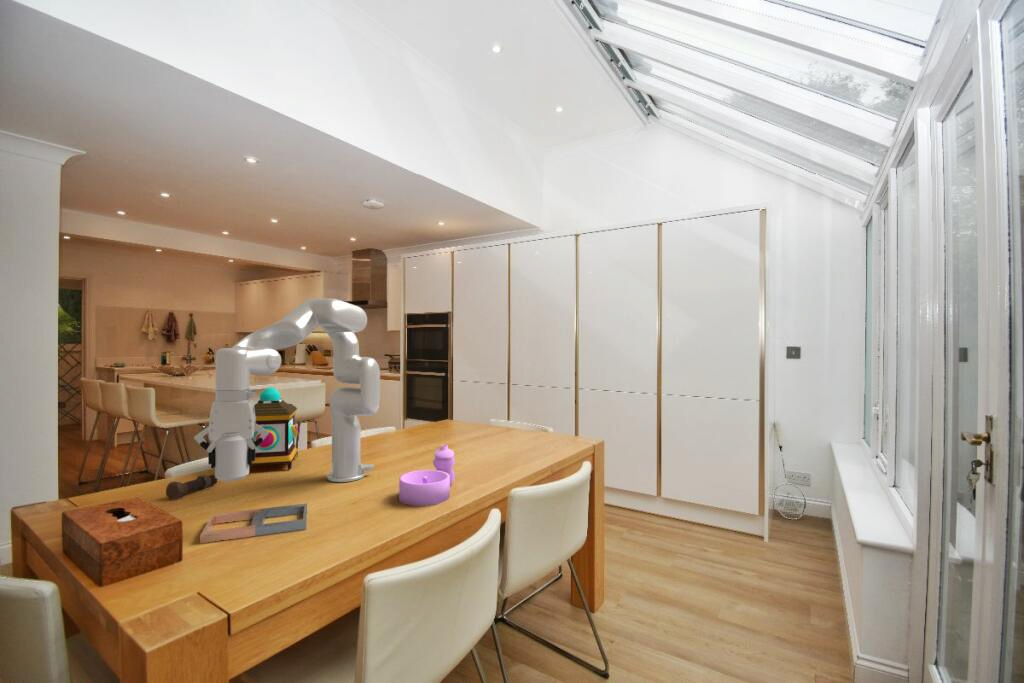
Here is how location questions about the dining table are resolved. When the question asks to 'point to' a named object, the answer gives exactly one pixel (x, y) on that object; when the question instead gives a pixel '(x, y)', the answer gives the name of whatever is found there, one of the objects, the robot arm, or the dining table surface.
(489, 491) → the dining table surface
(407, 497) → the container set
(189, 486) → the bolt
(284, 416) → the decorative lantern
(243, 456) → the can
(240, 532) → the tray
